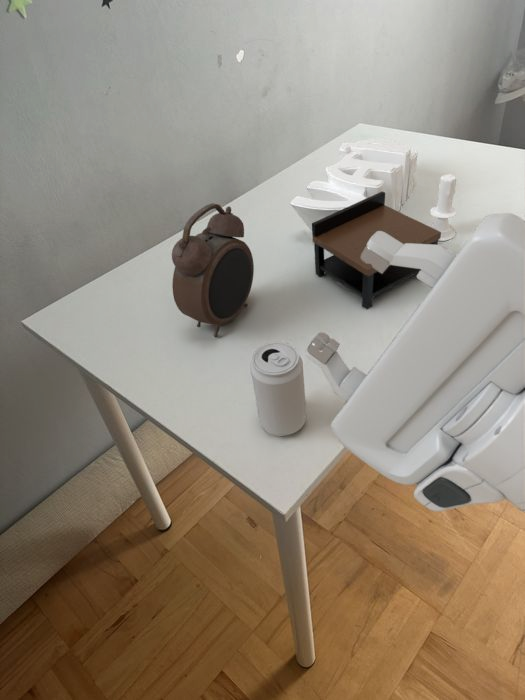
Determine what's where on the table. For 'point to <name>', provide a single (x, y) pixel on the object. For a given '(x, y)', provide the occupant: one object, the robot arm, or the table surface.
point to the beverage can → (279, 388)
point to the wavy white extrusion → (361, 179)
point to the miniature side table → (353, 235)
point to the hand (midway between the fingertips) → (337, 297)
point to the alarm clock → (212, 269)
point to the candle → (445, 207)
